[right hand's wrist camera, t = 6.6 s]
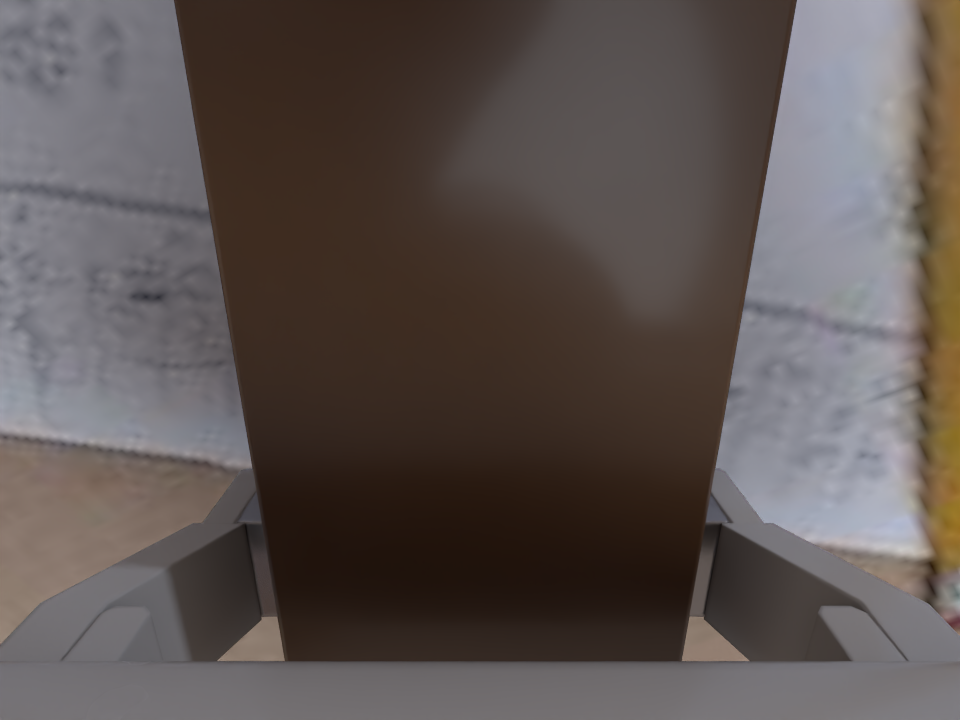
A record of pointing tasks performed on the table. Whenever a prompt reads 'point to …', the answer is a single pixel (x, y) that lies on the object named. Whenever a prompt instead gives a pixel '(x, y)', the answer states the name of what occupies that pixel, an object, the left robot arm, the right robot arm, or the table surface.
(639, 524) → the beam
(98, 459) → the table surface
